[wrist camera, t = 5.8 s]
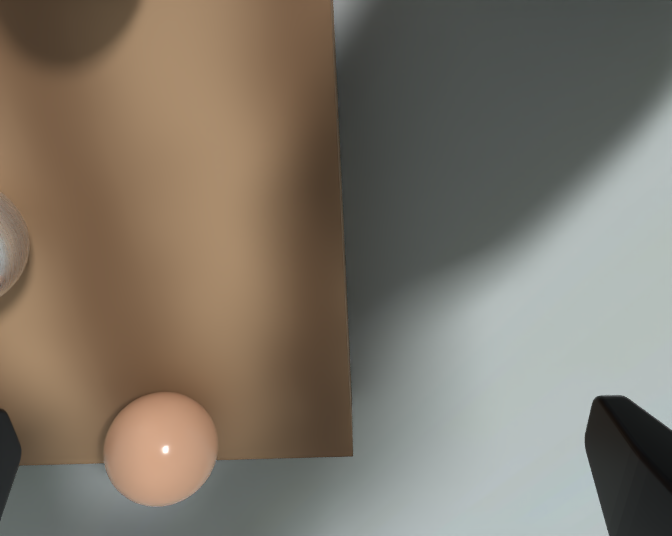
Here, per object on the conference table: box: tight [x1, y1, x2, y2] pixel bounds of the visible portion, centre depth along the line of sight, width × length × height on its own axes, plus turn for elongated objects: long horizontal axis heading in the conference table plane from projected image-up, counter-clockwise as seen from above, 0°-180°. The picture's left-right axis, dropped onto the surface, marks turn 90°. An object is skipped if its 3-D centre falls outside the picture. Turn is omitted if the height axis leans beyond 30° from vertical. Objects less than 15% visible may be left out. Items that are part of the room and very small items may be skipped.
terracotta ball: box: [103, 392, 218, 507], centre depth 19 cm, size 4×4×4 cm
